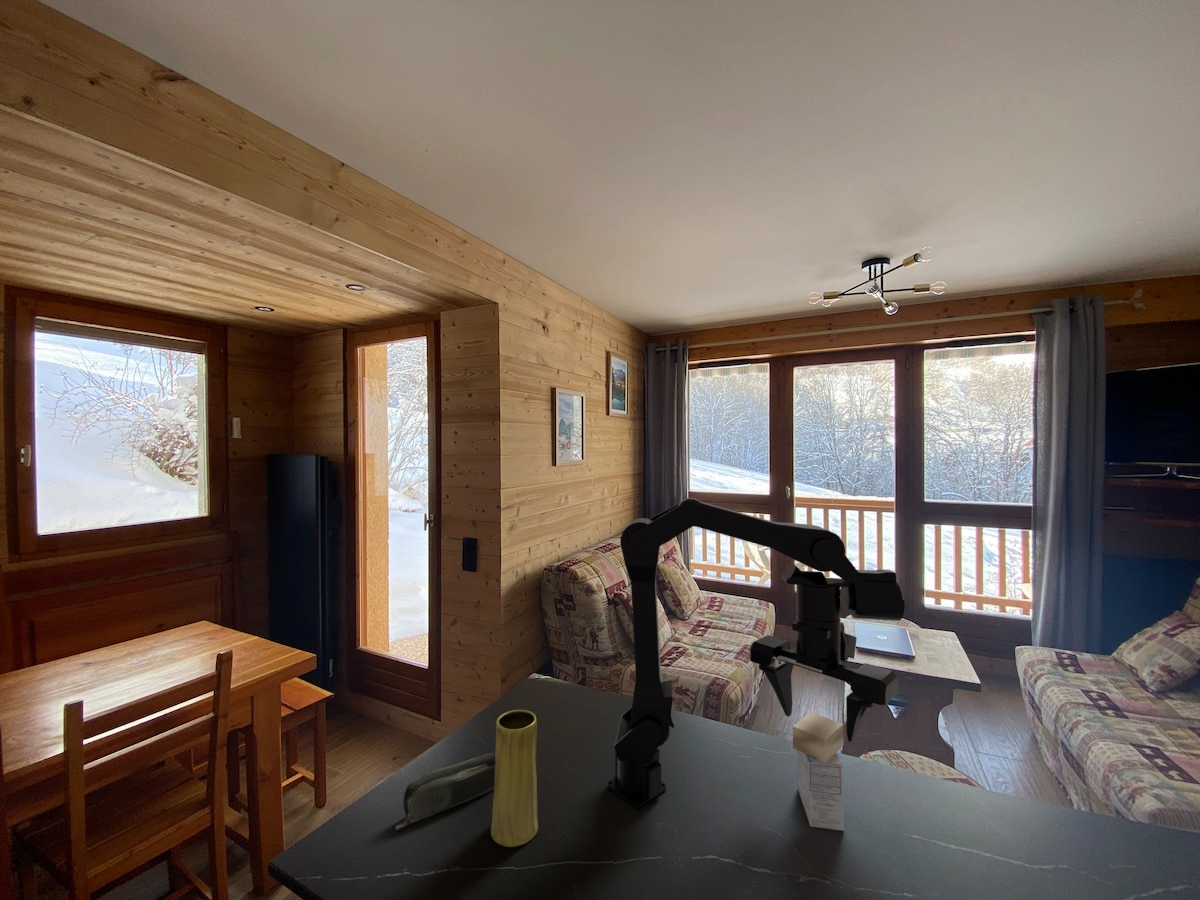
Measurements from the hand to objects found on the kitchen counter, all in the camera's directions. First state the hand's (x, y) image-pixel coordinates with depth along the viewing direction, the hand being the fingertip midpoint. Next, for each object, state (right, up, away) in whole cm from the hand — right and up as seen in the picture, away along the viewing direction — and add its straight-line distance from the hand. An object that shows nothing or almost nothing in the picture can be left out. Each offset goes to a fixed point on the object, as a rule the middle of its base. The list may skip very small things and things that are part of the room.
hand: (818, 727), depth 68 cm
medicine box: (0, -12, 0) cm, 12 cm away
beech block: (0, -3, 0) cm, 3 cm away
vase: (-42, -11, -5) cm, 44 cm away
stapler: (-52, -11, 0) cm, 53 cm away
